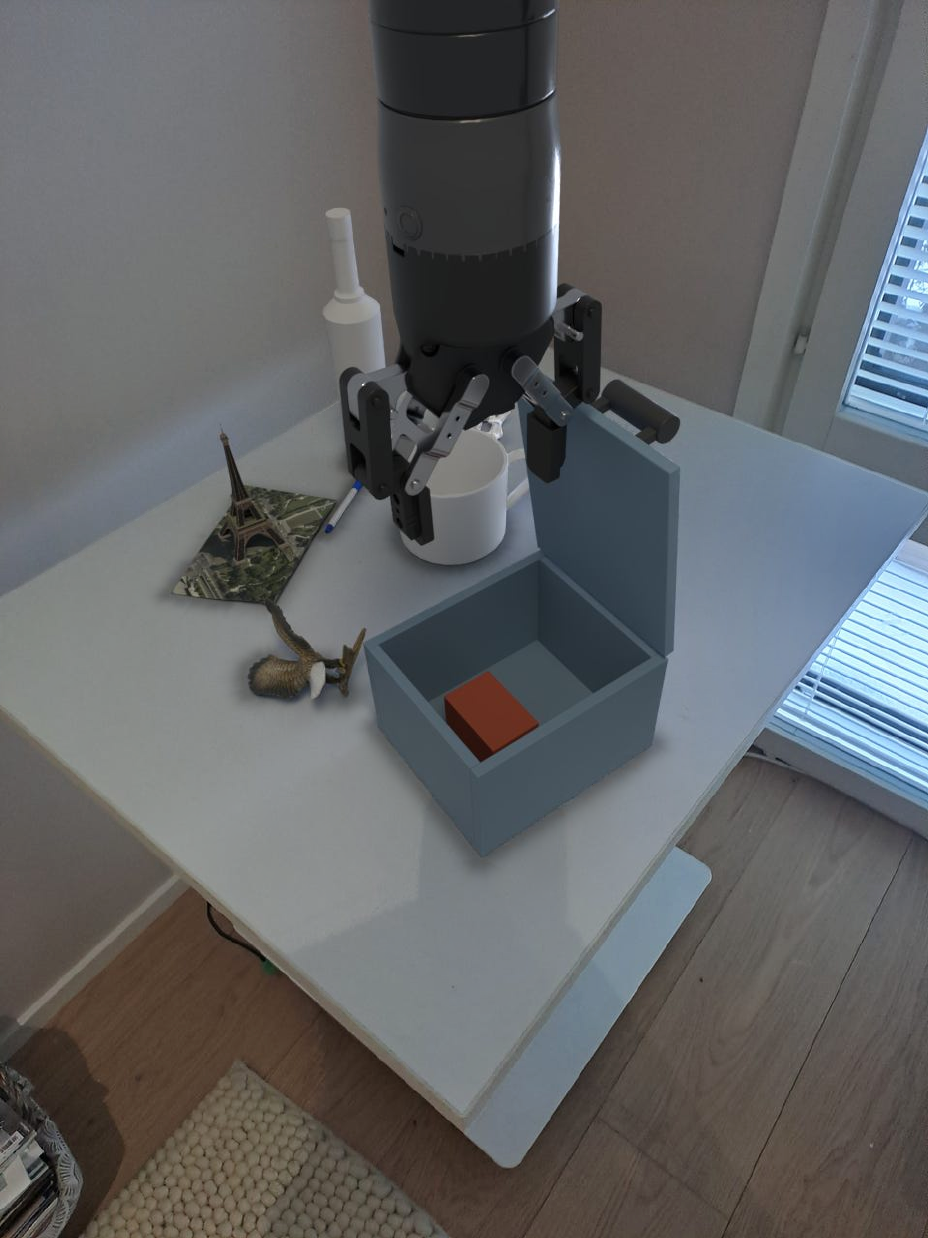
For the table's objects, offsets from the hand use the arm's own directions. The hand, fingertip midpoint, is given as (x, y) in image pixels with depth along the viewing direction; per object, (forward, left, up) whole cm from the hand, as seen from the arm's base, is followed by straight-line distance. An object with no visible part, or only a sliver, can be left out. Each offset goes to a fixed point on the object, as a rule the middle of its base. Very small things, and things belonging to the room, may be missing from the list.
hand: (482, 504), depth 50 cm
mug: (+21, -13, -24) cm, 34 cm away
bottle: (+36, -11, -24) cm, 45 cm away
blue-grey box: (0, -2, -24) cm, 24 cm away
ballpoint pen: (+32, -6, -24) cm, 40 cm away
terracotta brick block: (0, 0, -23) cm, 23 cm away
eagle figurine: (+14, +8, -24) cm, 29 cm away
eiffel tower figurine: (+31, +4, -24) cm, 40 cm away
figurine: (+34, -23, -24) cm, 48 cm away
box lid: (0, -8, -5) cm, 10 cm away
